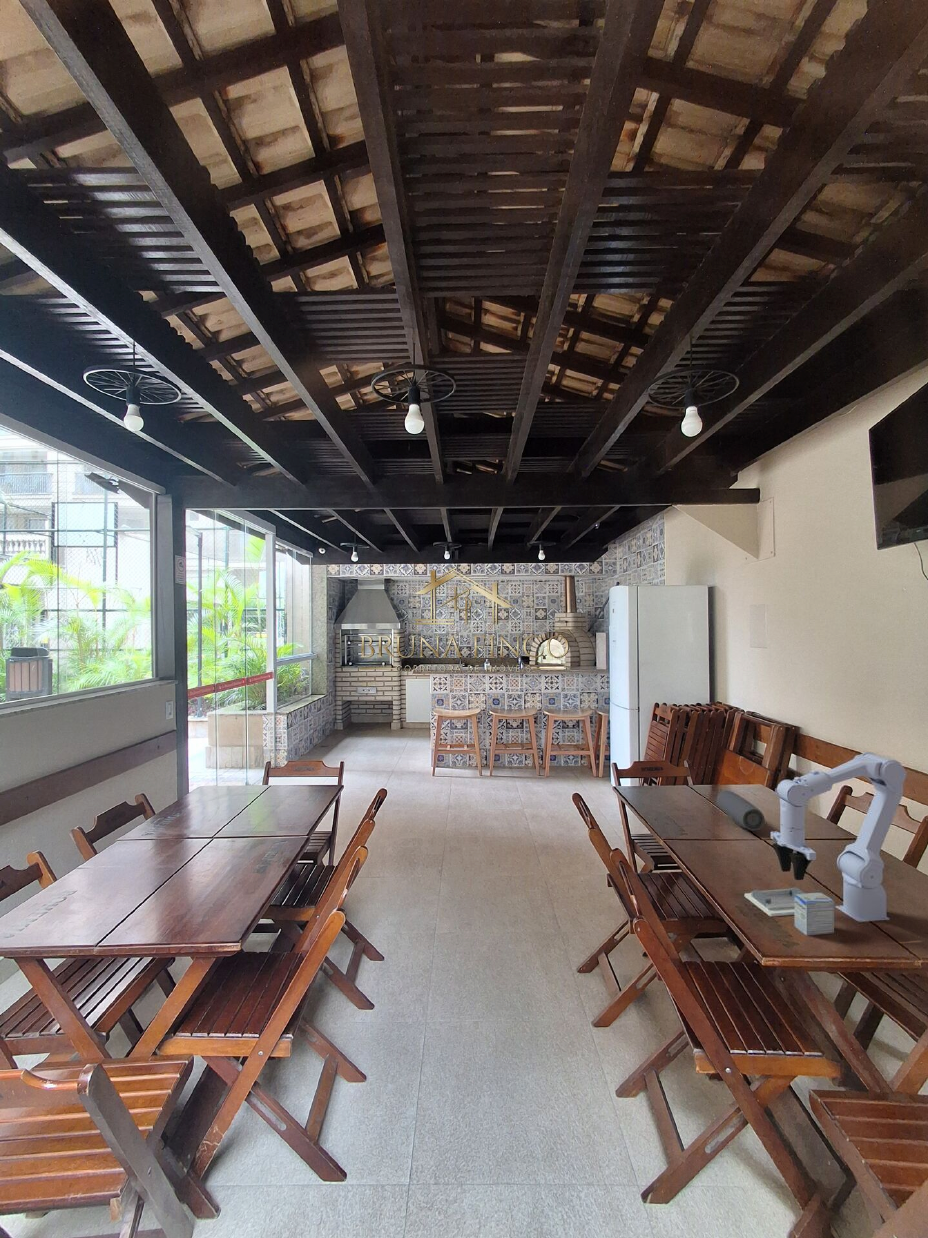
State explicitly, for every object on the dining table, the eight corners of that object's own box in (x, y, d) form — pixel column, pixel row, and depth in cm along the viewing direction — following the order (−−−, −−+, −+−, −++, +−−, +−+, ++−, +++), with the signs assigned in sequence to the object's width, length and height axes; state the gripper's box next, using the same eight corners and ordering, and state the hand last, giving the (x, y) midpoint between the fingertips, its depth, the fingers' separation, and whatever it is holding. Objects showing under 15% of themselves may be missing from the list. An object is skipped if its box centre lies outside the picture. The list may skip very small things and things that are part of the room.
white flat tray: (791, 892, 162) (791, 882, 162) (820, 912, 151) (820, 901, 151) (744, 896, 160) (744, 885, 160) (770, 916, 149) (770, 905, 149)
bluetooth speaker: (766, 834, 206) (766, 807, 206) (741, 834, 207) (741, 807, 207) (737, 813, 229) (737, 789, 229) (715, 812, 229) (715, 788, 229)
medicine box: (821, 924, 145) (821, 891, 145) (834, 934, 141) (834, 900, 141) (793, 927, 144) (793, 893, 144) (806, 936, 140) (806, 902, 140)
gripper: (761, 817, 157) (761, 864, 157) (799, 836, 143) (799, 889, 143) (783, 815, 159) (783, 862, 159) (823, 835, 144) (823, 887, 144)
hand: (792, 875), depth 151 cm, fingers open, 4 cm apart
